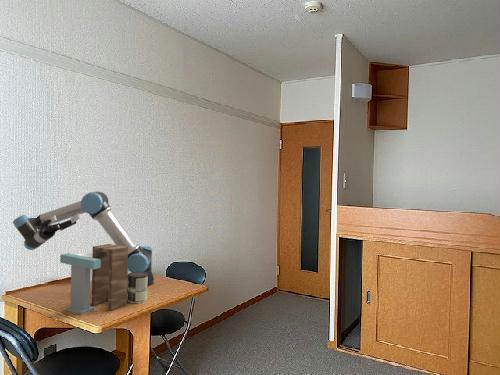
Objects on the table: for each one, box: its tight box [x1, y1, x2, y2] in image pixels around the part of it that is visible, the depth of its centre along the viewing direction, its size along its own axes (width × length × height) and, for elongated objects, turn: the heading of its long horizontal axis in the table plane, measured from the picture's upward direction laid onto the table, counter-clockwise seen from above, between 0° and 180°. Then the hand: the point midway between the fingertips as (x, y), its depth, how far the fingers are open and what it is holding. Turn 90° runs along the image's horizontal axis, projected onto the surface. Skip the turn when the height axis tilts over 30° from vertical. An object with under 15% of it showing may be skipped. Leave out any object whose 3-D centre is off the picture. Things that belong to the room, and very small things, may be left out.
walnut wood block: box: [90, 243, 128, 312], centre depth 189 cm, size 14×10×30 cm
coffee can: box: [127, 272, 148, 304], centre depth 199 cm, size 10×10×14 cm
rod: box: [59, 252, 101, 269], centre depth 181 cm, size 24×4×4 cm, turn 62°
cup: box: [77, 252, 93, 282], centre depth 233 cm, size 12×12×16 cm
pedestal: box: [64, 265, 95, 315], centre depth 181 cm, size 12×7×22 cm, turn 62°
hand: (67, 216), depth 196 cm, fingers open, 13 cm apart
